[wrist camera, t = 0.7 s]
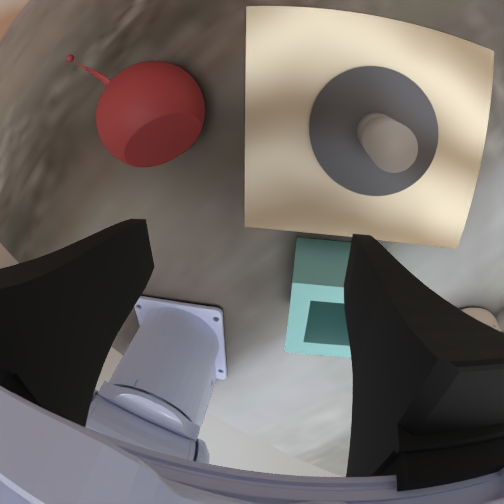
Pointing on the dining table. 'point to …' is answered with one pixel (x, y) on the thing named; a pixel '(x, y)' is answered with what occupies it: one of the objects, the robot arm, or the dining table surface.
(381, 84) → the post base
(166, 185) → the dining table surface
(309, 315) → the collar
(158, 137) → the fruit
